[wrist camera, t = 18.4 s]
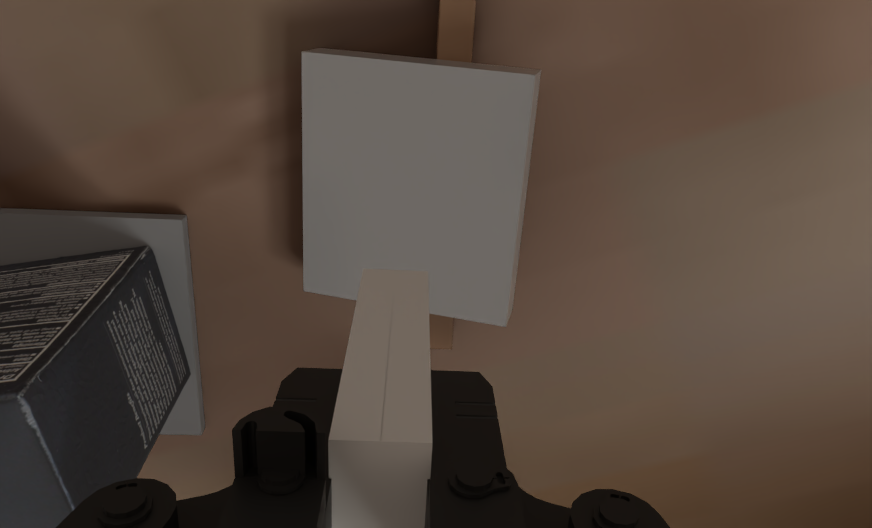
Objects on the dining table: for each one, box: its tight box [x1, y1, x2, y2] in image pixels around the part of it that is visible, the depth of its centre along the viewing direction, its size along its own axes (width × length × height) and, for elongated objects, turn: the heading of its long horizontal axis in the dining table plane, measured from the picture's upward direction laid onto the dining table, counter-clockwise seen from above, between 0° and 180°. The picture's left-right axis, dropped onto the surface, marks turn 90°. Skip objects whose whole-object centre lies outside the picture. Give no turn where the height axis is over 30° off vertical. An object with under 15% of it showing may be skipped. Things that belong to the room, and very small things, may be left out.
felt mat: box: [0, 208, 205, 435], centre depth 29 cm, size 10×12×1 cm
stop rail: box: [429, 0, 476, 349], centre depth 27 cm, size 14×1×1 cm, turn 177°
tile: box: [302, 48, 541, 327], centre depth 26 cm, size 9×2×8 cm
